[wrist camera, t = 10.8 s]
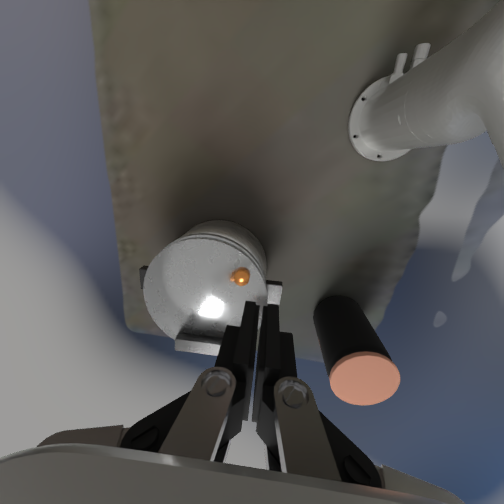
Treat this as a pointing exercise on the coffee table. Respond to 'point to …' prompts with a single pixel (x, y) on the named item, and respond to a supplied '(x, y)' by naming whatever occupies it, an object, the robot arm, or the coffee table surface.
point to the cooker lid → (201, 291)
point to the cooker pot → (238, 238)
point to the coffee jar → (354, 353)
